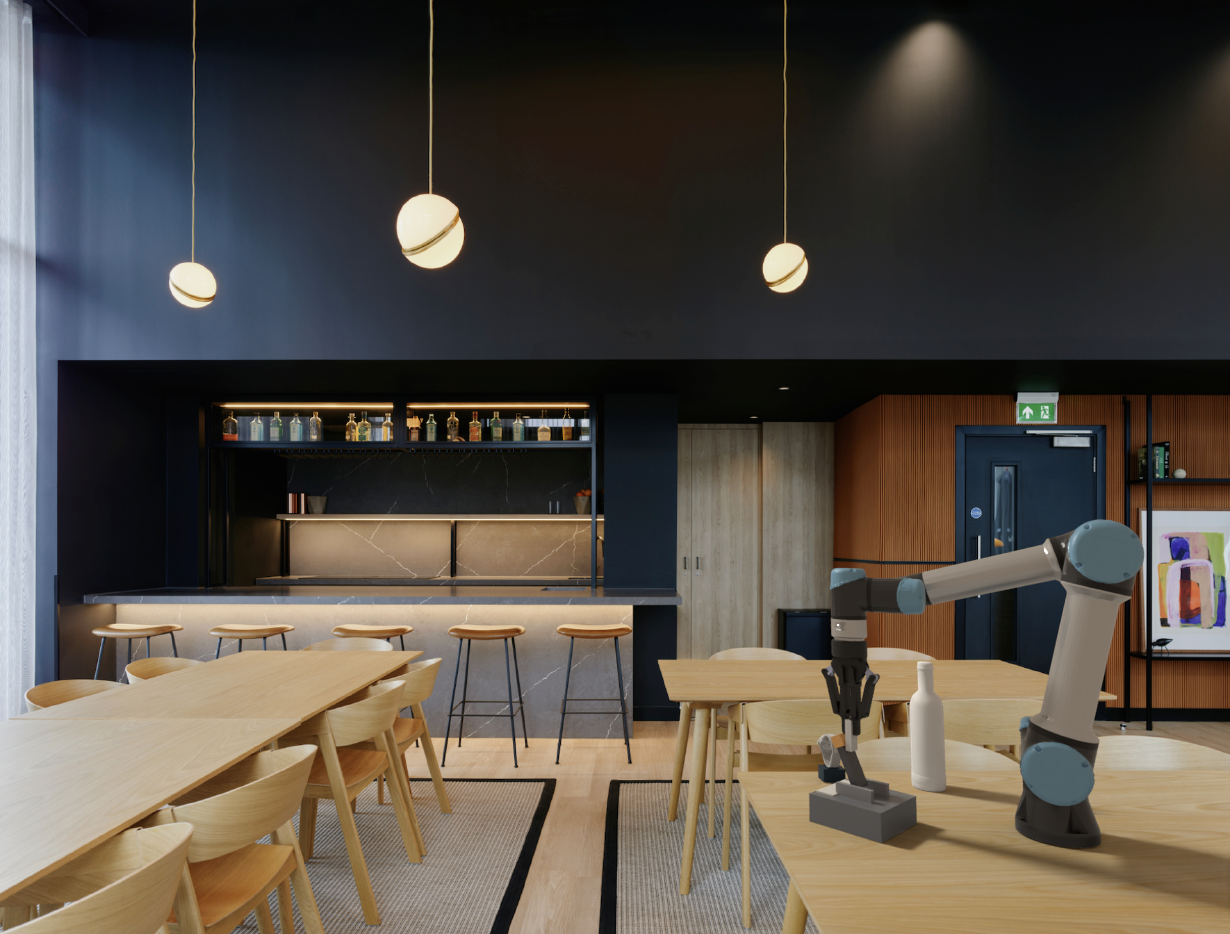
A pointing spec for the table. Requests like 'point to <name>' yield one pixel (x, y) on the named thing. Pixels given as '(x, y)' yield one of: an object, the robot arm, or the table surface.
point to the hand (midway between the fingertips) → (851, 750)
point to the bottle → (927, 734)
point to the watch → (830, 761)
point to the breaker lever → (849, 762)
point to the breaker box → (863, 809)
